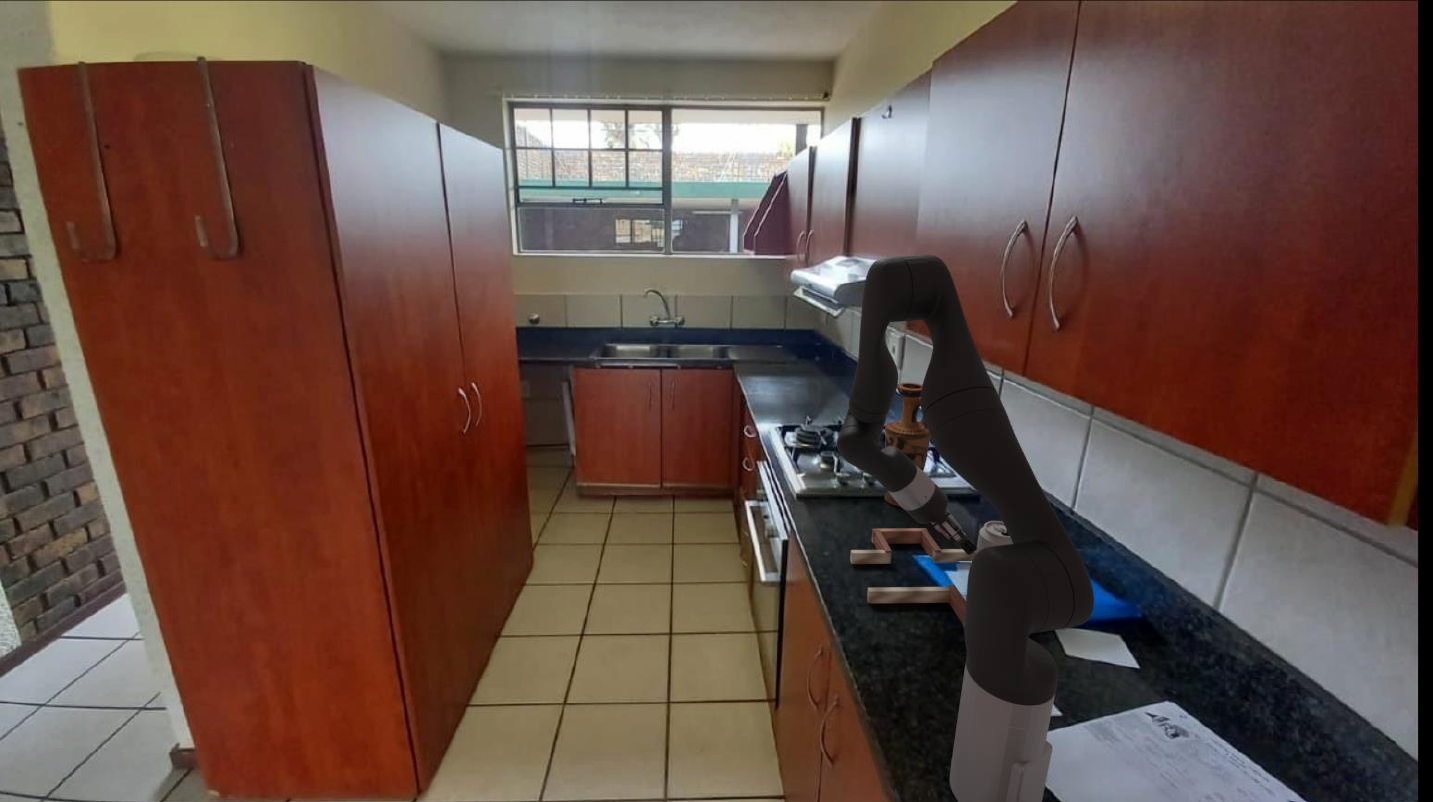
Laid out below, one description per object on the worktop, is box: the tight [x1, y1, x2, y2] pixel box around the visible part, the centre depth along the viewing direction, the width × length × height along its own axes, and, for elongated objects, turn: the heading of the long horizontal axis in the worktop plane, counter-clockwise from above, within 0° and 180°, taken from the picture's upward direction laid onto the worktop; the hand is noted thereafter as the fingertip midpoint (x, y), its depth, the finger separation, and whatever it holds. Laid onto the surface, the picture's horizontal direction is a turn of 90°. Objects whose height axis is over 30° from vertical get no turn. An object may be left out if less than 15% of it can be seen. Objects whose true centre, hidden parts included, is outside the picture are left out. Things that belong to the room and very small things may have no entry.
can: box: [976, 520, 1013, 554], centre depth 112 cm, size 8×8×12 cm
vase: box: [884, 382, 931, 508], centre depth 144 cm, size 11×11×30 cm
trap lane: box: [849, 527, 976, 628], centre depth 114 cm, size 33×30×3 cm
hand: (971, 550), depth 114 cm, fingers closed
